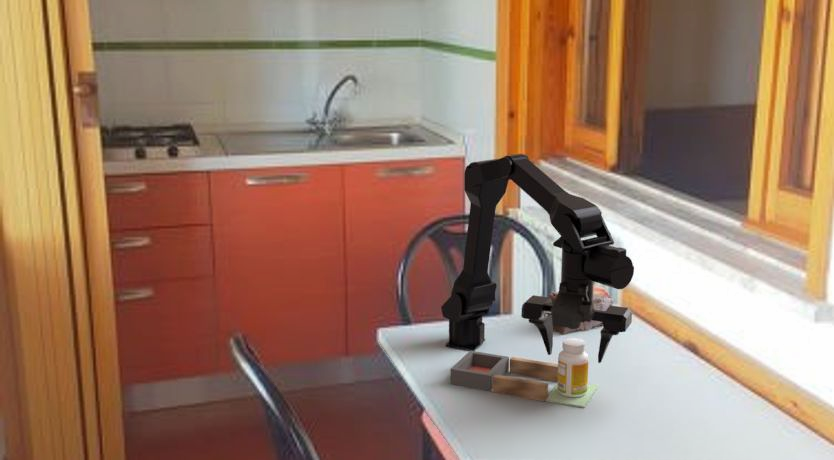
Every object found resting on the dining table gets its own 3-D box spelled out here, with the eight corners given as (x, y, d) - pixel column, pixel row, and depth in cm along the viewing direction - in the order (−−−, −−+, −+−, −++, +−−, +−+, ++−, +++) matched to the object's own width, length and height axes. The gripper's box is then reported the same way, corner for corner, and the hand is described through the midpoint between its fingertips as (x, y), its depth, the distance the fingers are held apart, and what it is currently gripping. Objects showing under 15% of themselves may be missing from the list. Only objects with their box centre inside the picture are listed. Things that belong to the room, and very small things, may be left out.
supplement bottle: (590, 388, 170) (592, 338, 168) (582, 400, 165) (584, 349, 163) (561, 383, 172) (563, 334, 170) (553, 395, 168) (555, 344, 165)
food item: (590, 315, 210) (592, 273, 207) (615, 325, 203) (617, 282, 201) (543, 327, 203) (544, 283, 200) (567, 338, 196) (568, 293, 194)
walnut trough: (492, 391, 170) (493, 376, 169) (511, 371, 179) (511, 356, 178) (545, 401, 166) (546, 385, 165) (562, 379, 175) (562, 365, 174)
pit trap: (450, 383, 173) (450, 368, 173) (470, 364, 182) (470, 350, 181) (490, 391, 170) (490, 375, 169) (508, 371, 179) (509, 356, 178)
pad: (545, 401, 166) (545, 399, 166) (561, 380, 175) (561, 378, 175) (584, 407, 163) (584, 406, 163) (598, 386, 172) (598, 385, 172)
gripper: (512, 281, 160) (510, 366, 164) (620, 295, 152) (615, 383, 156) (532, 264, 170) (530, 344, 174) (634, 276, 162) (630, 360, 166)
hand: (574, 358), depth 167 cm, fingers open, 9 cm apart
